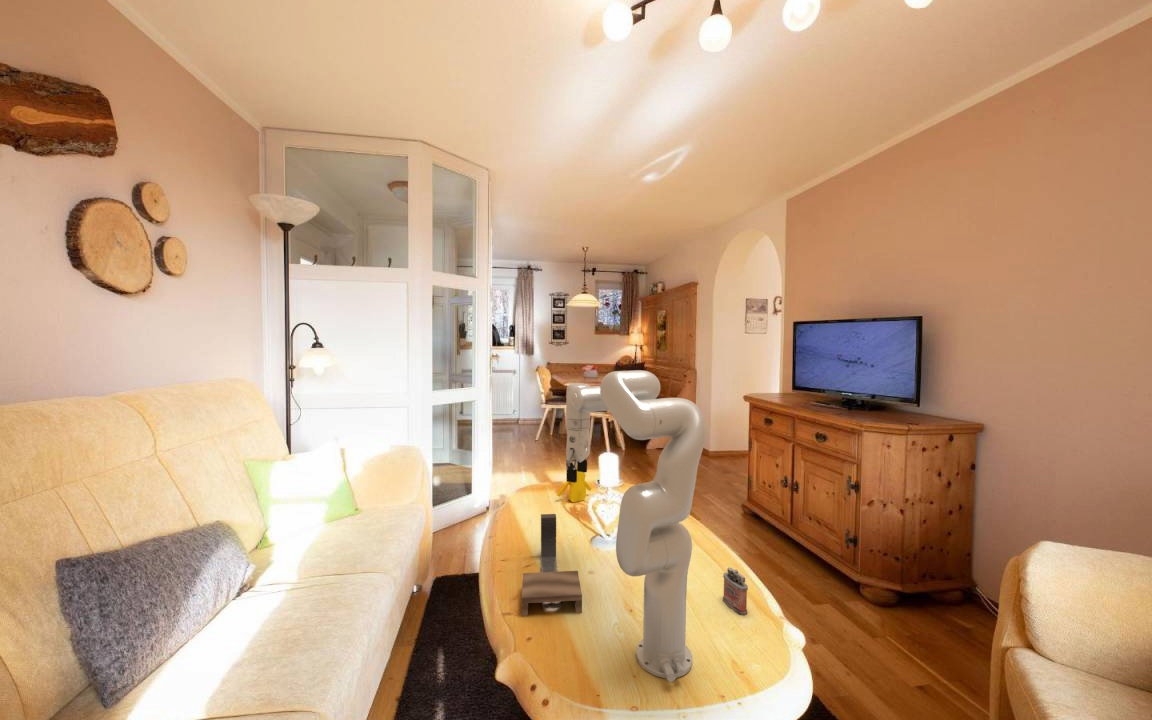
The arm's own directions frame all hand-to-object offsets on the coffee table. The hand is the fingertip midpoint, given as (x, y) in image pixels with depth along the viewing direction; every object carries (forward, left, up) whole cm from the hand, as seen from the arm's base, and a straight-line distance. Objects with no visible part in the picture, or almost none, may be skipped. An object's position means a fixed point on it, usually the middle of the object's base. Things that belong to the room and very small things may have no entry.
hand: (577, 476), depth 137 cm
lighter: (-23, -41, -30) cm, 56 cm away
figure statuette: (+58, -5, -30) cm, 65 cm away
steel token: (-19, +9, -30) cm, 37 cm away
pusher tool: (0, +9, -30) cm, 31 cm away
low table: (-16, +9, -30) cm, 35 cm away
